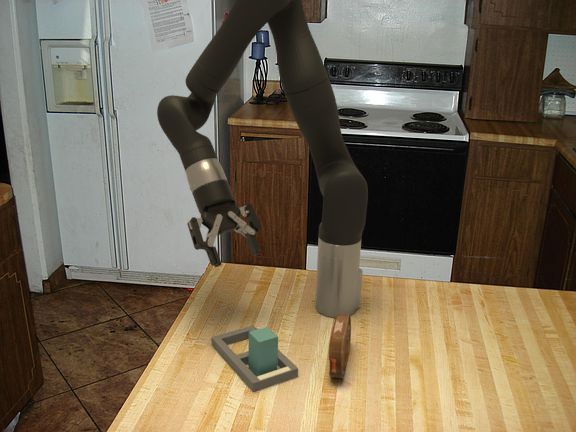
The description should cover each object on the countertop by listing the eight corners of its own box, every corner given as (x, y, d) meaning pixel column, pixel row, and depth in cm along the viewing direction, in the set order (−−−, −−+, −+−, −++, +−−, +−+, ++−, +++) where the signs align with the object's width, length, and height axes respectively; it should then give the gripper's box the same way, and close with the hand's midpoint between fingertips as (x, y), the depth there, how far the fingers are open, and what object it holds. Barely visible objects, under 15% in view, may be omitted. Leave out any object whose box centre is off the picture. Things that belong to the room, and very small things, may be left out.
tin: (342, 388, 115) (345, 348, 112) (325, 385, 116) (327, 345, 113) (351, 343, 129) (354, 307, 126) (336, 341, 130) (338, 305, 127)
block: (266, 362, 122) (267, 326, 119) (277, 373, 119) (278, 336, 116) (248, 368, 120) (248, 331, 117) (258, 379, 117) (259, 342, 114)
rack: (252, 332, 132) (253, 324, 131) (297, 376, 118) (298, 367, 117) (211, 344, 127) (211, 336, 127) (253, 391, 113) (253, 383, 113)
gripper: (182, 186, 121) (211, 265, 118) (246, 171, 128) (275, 245, 126) (171, 200, 127) (199, 275, 124) (233, 185, 135) (260, 256, 132)
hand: (237, 260), depth 125 cm, fingers open, 8 cm apart
